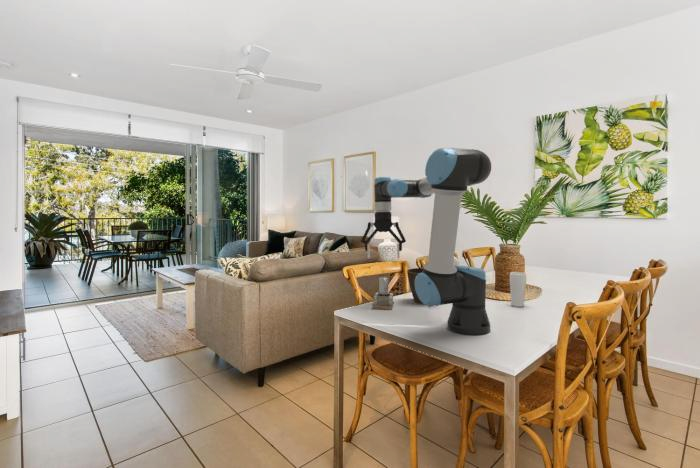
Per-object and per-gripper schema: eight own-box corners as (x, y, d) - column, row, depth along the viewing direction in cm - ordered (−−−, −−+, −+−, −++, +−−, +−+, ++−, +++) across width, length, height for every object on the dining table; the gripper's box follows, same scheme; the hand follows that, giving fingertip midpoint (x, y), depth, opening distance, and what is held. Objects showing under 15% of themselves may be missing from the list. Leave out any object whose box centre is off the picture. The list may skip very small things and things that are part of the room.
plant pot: (421, 310, 161) (421, 274, 160) (400, 303, 174) (400, 269, 173) (446, 305, 169) (446, 271, 168) (424, 299, 182) (424, 266, 180)
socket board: (391, 313, 158) (391, 301, 157) (371, 312, 159) (370, 300, 159) (394, 304, 172) (394, 293, 172) (375, 303, 174) (374, 292, 174)
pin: (388, 304, 167) (387, 278, 166) (379, 304, 168) (378, 278, 167) (388, 302, 171) (388, 276, 170) (380, 302, 171) (379, 276, 171)
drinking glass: (517, 303, 171) (518, 271, 170) (529, 306, 164) (529, 273, 163) (506, 304, 169) (506, 272, 168) (517, 308, 162) (517, 274, 161)
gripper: (411, 211, 168) (411, 257, 169) (357, 211, 172) (357, 256, 174) (410, 211, 160) (410, 259, 162) (354, 212, 165) (355, 258, 166)
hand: (383, 258), depth 168 cm, fingers open, 13 cm apart
